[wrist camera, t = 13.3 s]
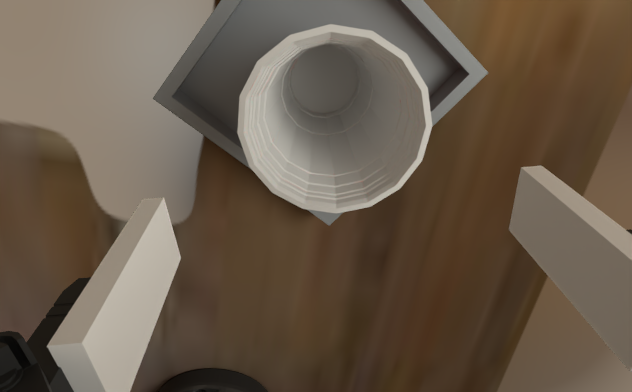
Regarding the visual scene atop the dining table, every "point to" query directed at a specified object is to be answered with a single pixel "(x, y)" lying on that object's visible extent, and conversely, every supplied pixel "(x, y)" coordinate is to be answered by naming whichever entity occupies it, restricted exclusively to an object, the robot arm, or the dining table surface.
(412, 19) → the tray
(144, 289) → the robot arm
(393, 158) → the plastic cup
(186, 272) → the dining table surface
